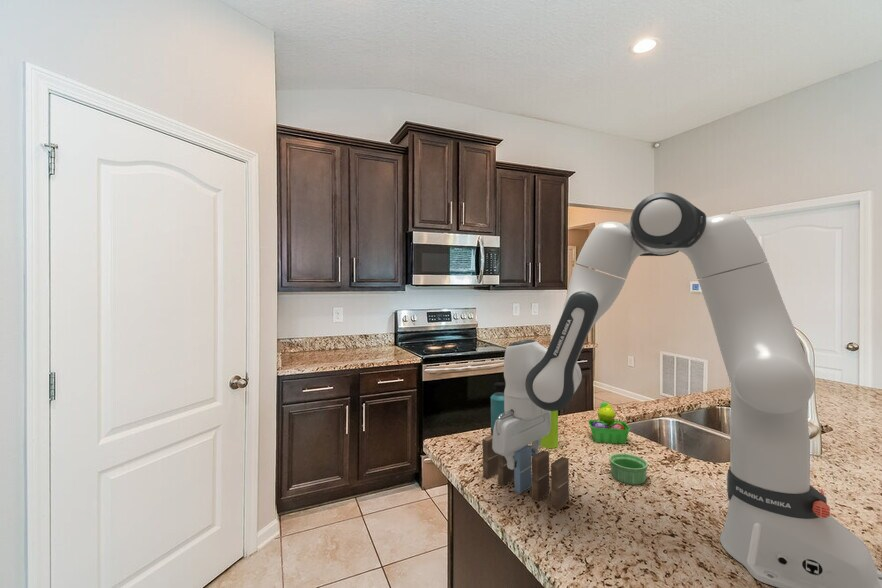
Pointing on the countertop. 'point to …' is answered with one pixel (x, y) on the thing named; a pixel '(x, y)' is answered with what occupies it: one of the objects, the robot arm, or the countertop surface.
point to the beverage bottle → (497, 403)
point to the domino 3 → (522, 469)
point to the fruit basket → (608, 426)
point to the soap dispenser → (551, 433)
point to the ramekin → (628, 468)
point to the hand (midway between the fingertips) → (523, 461)
